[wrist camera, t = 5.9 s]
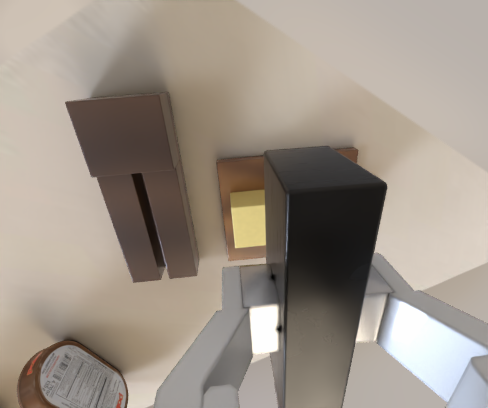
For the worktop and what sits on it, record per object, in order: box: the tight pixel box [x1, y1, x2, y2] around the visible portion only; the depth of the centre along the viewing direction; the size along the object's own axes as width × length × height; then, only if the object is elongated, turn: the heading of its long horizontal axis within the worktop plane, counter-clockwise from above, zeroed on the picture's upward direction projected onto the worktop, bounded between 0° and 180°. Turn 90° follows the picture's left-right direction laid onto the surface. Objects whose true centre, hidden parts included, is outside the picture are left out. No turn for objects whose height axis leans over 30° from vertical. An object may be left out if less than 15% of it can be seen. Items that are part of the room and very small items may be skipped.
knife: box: [264, 146, 387, 408], centre depth 11 cm, size 16×2×6 cm, turn 3°
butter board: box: [217, 148, 358, 261], centre depth 28 cm, size 12×14×1 cm
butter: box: [230, 190, 266, 248], centre depth 26 cm, size 4×7×4 cm, turn 94°
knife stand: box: [65, 92, 199, 283], centre depth 25 cm, size 18×7×4 cm, turn 4°
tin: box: [17, 341, 128, 408], centre depth 34 cm, size 15×3×8 cm, turn 31°
